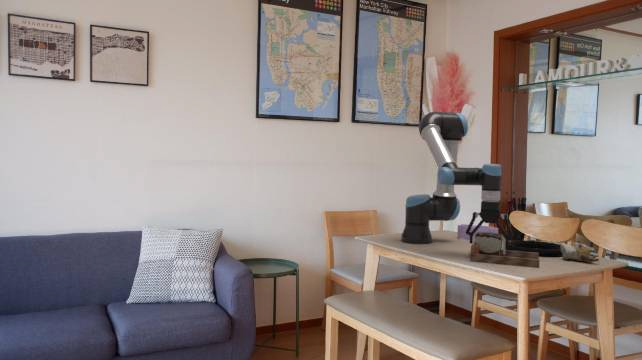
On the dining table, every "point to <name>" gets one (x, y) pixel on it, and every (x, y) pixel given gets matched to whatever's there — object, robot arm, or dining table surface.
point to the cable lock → (531, 246)
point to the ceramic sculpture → (577, 252)
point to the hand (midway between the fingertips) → (488, 252)
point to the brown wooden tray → (506, 257)
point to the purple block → (463, 227)
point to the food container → (489, 243)
